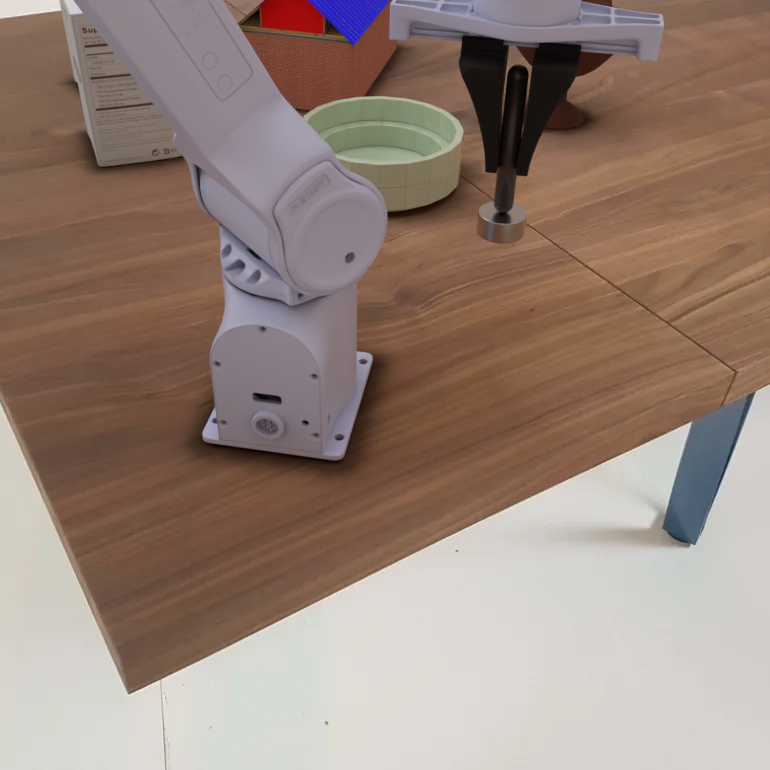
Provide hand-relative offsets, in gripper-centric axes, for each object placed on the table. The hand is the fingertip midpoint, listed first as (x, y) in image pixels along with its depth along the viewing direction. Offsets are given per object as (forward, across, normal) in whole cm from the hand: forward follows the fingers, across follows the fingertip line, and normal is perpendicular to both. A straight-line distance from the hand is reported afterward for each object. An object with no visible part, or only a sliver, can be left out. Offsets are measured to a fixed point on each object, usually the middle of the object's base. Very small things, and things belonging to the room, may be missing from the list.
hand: (507, 167), depth 55 cm
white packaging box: (+10, +33, -18) cm, 39 cm away
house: (+11, +21, -40) cm, 46 cm away
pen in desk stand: (+4, 0, 0) cm, 4 cm away
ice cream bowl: (+11, -3, -34) cm, 36 cm away
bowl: (+10, +11, -17) cm, 23 cm away
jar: (+11, +40, -32) cm, 53 cm away
